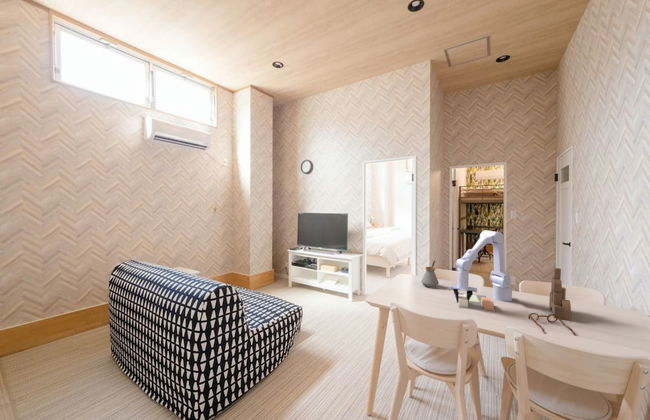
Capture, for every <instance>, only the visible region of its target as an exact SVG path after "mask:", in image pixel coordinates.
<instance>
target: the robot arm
mask: <svg viewBox="0 0 650 420" xmlns="http://www.w3.org/2000/svg"><path fill="white" fill-rule="evenodd" d="M487 244H491V245H492V248H493V253H492V254H493V255H492V256H493V270H492V271H490V276H489V281H490V282H491V285H492V299H494V300H496V301H501V302H512V301H513V299H512V298H513V290H512V287H511V286H510V285H511V283H512V280H511V278H510V274H509V273H508V272H507V271H506V269H505V268H506V267H505V245H504V244H505V241H504V234H503V233H502V232H500V231H493V230H488V229H484V230H482V231H481V233H480V234H479V238H478V240H477V241H476V242H475V244H474V246H473V247H472V248H469V249H467V250H466V252H465V253H464V254H463V256H462V257H461V258H458V259H456V261H455V267H456V271H457V274H456V275H457V278H456V279H457V282H456V283H457V284H456V285H453V284H452V285H451V284H450V285H448V290H453V293H455V294H454V296H455V295H456V297H455V299H457V300H456V303H457V304H458V294H459V293H460V292H459V291H463V292H465V291H466V294H467V299H468V303H469V300H470V297H471V296H472V294H473V292H474V293H478V288H477V287H474V286H473V287H472V286H469V276H470V275H469V274H470V273H469V271H470V270H471V268H472V267H473V266H472V265H473V262H474V261H475V259H477V258H478V257H479V254H478V253H479V252H480V251H481V250H482V249H483V248H484V247H485V246H486V245H487ZM473 295H474V294H473Z"/></svg>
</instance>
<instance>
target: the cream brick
mask: <svg viewBox="0 0 650 420" xmlns="http://www.w3.org/2000/svg"><path fill="white" fill-rule="evenodd" d="M458 305H459V306H460V307H468V299H467V297H466V295H458V303H457V306H458ZM459 306H458V307H459Z"/></svg>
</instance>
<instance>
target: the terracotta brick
mask: <svg viewBox="0 0 650 420" xmlns="http://www.w3.org/2000/svg"><path fill="white" fill-rule="evenodd" d="M486 297H487V296H486ZM486 297H481V305H482V307H483V308H484V309H485V310H493V308H494V304H495V303H494V302H493V300H492V299H491V297H487V298H486ZM494 309H495V308H494Z"/></svg>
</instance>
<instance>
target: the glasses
mask: <svg viewBox="0 0 650 420" xmlns="http://www.w3.org/2000/svg"><path fill="white" fill-rule="evenodd" d="M532 315H536V316H537V317H536V320H535V319H534V318H533V317H532ZM553 315H554V316H556V318H555V320H549V318H550V317H551V316H552V317H553ZM527 318H528V319H529V320H532V321H533V322H534V323H535V325H537V326H539V327H540V328H541V330H542V332H543V334H546V332H545V330H544V327H543V326H542V325H541V324H539V323H538V322H537V321H538V320H539V319H540V318H546V320H547V322H549V323H556V322H557V321H559V322H560V323H562V325H563V326H565V327H566V328H567V329H569V330H570V332H571V333H572V334H573V336H575V337H577V335H576V333H575V332H574V330H573V329H572V328H571V327H570V326H569V325H567V324H566V323H565V322H564V320H562V319H559V318H558V316H557V315H555V314H553V313H551V314H548V315H546V314H545V315H544V314H540V315H539V314H538V313H536V312H532V313H529V314H528V317H527Z"/></svg>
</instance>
